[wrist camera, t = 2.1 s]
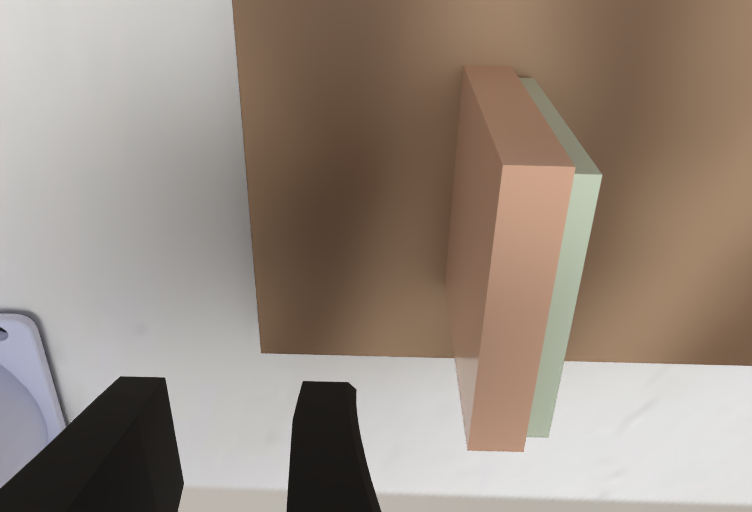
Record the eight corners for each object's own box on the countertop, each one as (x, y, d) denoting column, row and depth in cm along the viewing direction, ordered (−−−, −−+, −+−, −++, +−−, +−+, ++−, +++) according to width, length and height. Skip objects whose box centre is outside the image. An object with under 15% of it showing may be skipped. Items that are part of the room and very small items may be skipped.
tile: (444, 285, 18) (467, 450, 13) (463, 64, 15) (502, 165, 10) (502, 287, 18) (549, 452, 13) (533, 66, 15) (608, 167, 10)
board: (267, 328, 21) (261, 352, 20) (238, -66, 15) (226, -62, 14) (785, 342, 21) (807, 367, 20) (945, -48, 15) (987, -43, 14)
